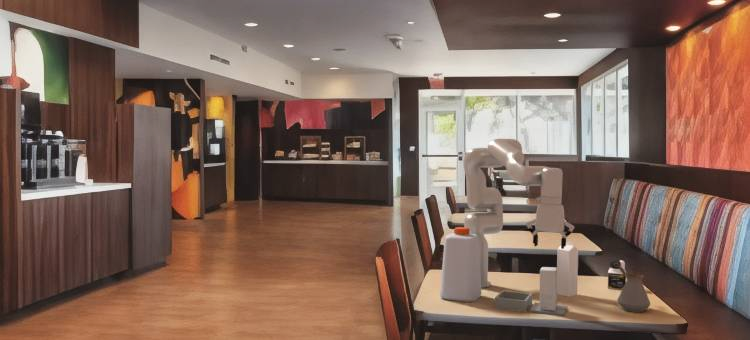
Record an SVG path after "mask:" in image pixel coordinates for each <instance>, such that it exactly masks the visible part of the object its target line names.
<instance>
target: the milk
mask: <svg viewBox="0 0 750 340" xmlns="http://www.w3.org/2000/svg"><path fill="white" fill-rule="evenodd" d="M556 252H557V253H556V256H557V258H556V268H557V296H563V297H566V298H570V297H574V296H577V295H578V280H579V279H578V273H579V272H578V271H579V249H578V248H577V247H576V246H575V242H573V241H567V240H566V246H564V248H563V249H562V248H561V245H559V247H558V248H557V251H556Z"/></svg>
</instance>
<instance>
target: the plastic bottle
mask: <svg viewBox="0 0 750 340" xmlns="http://www.w3.org/2000/svg"><path fill="white" fill-rule="evenodd" d="M469 231H470V229H469V228H466V227H464V226H457V227H455V228H454V232H452V233H449V234H447V235H446V236H445V237H444V242H443V243H444V244H443V255H442V266H441V277H440V279H441V280H440V291H439V296H440V298H441V299H443V300H447V301H455V302H466V303H472V302H476V301H477V300H478V299H479V298H480V297H481V296H482V288H481V275H480V256H479V238H478V236H477V235H475V234H469Z"/></svg>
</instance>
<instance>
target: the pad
mask: <svg viewBox="0 0 750 340" xmlns="http://www.w3.org/2000/svg"><path fill="white" fill-rule="evenodd" d="M567 309H568V305H560V304H557V307H556V311H550V310H541V309H540V302H534V303H533V304H532V305H531V306H530V307H529V309H528V310H529V311H528V312H529V313H534V314H540V315H541V314H542V315H543V314H544V315H550V316H559V317H564V315H565V314H566V311H567Z"/></svg>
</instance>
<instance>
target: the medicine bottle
mask: <svg viewBox="0 0 750 340" xmlns="http://www.w3.org/2000/svg"><path fill="white" fill-rule="evenodd" d="M616 262H618V263H619V264H620V265H621V267H622V268H623V269H624V271H625V273H626V274H627V271H626V269H625V268H626V262H625V261H624V260H621V259H611V260H610V261H609V269H608V272H607V289H609V290H610V289H612V290H618V291H619V290H620V291H622V289H623V287H624V285H625V283H626V281H627V278H626V277H625V276H624V274H623V273H622V272H621V271H620V269H619V267H615V266H618V265H617V264H615V263H616ZM614 264H615V265H614Z"/></svg>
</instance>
